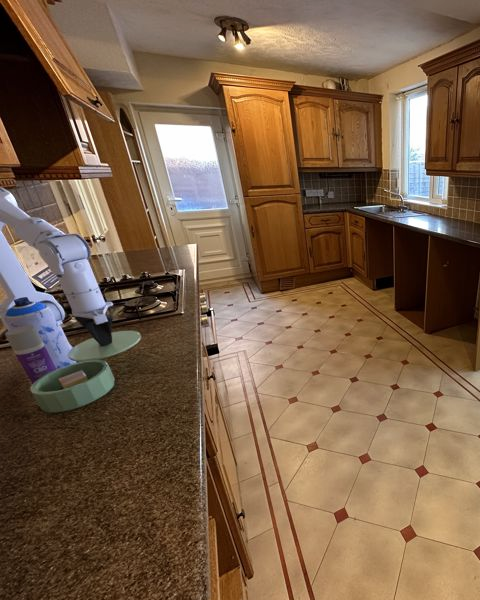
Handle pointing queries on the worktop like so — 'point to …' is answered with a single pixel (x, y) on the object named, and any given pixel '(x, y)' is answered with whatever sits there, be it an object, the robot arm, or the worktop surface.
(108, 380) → the pot
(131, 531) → the worktop surface
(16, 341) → the container
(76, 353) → the lid
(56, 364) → the aerosol can
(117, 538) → the worktop surface
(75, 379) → the block
